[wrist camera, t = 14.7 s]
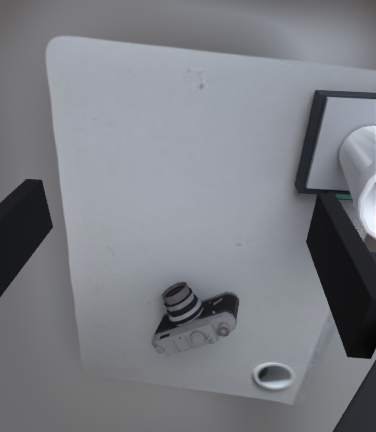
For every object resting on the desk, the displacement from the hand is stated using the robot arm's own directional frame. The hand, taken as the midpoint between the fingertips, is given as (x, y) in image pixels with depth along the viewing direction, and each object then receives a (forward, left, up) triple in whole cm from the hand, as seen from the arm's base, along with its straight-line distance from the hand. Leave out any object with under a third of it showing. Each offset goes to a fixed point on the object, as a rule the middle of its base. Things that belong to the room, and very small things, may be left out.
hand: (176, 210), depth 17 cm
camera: (+31, -19, -31) cm, 48 cm away
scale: (+16, +14, -31) cm, 37 cm away
